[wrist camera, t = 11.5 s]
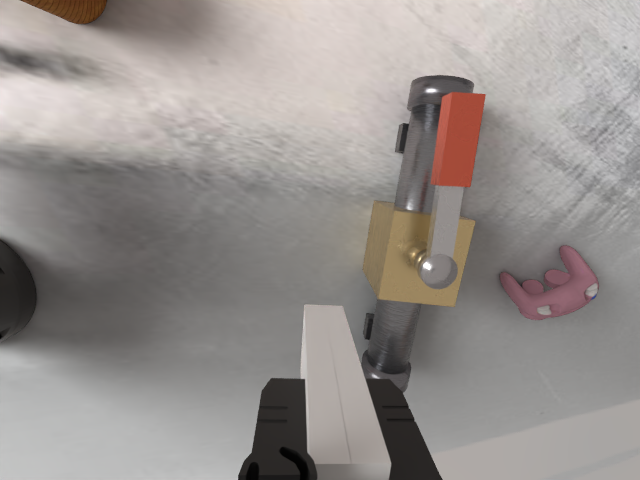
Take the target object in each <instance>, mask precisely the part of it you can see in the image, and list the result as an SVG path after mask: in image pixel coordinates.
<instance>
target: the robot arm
mask: <svg viewBox="0 0 640 480" xmlns="http://www.w3.org/2000/svg"><path fill="white" fill-rule="evenodd" d="M35 303H36V292H35V286H34V282H33V279H32V277H31V274H30V272H29V270H28V269H27V267H26V265H25V264H24V262H23V261H22V260H21V259H20V257H19V256H18V255H17V254H16V253H15V252H14V251H13V250H12V249H11V248H10V247H8V246H7V245H6V244H4V243H3V242H2V241H0V342H2V341H4V340H5V339H7V338H9V337H10V336H12V335H14V334H16V333H17V332H19V331H20V330H21V329H22V328H23V327H24V326H25V325H26V324H27V323H28V321H29V320H30V318H31V316H32V314H33V312H34V308H35ZM238 480H442V478H441V476H440V475H439V472H438V470H437V468H436V466H435V463H434V461H433V459H432V457H431V455H430V452H429V450H428V448H427V446H426V444H425V441H424V439H423V437H422V435H421V433H420V430H419V428H418V426H417V424H416V422H415V421H414V417H413V415H412V413H411V410H410V409H409V406H408V404H407V402H406V399H405V397H404V395H403V393H402V391H401V390H400V389H399V388H398V387H397V386H396V385H395V384H394V383H393V382H392V381H391V380H390V379H365V377H364V373H363V370H362V367H361V364H360V360H359V357H358V354H357V351H356V348H355V344H354V341H353V338H352V335H351V331H350V328H349V325H348V322H347V318H346V315H345V312H344V309H343V306H334V305H305V304H304V320H303V336H302V352H301V379H283V378H271V379H270V381H269V382H268V383H267V385H266V386H265V387H264V389H263V390H262V393H261V399H260V405H259V411H258V418H257V424H256V430H255V436H254V442H253V448H252V453H251V454H250V455H249V456H248V457H247V458H246V460H245V461H244V463H243V465H242V468H241V470H240V473H239V475H238Z"/></svg>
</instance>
